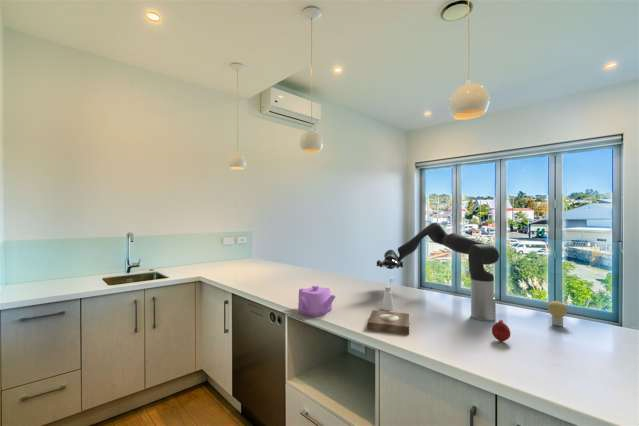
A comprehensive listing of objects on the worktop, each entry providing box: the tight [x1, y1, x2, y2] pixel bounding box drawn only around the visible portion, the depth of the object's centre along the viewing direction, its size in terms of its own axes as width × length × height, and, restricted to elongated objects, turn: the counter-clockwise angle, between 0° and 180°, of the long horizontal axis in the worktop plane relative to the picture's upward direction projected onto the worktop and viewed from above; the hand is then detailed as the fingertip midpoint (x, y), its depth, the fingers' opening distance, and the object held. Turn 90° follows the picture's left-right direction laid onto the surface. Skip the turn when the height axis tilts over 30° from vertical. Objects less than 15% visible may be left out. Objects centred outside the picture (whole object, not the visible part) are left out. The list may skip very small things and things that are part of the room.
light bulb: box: [547, 300, 568, 327], centre depth 121 cm, size 6×6×10 cm
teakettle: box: [297, 285, 336, 318], centre depth 138 cm, size 17×17×12 cm
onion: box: [491, 319, 511, 343], centre depth 104 cm, size 6×6×8 cm
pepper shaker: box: [382, 285, 394, 312], centre depth 142 cm, size 5×5×11 cm
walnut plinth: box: [367, 309, 410, 335], centre depth 121 cm, size 16×16×3 cm
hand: (389, 265), depth 153 cm, fingers open, 8 cm apart
